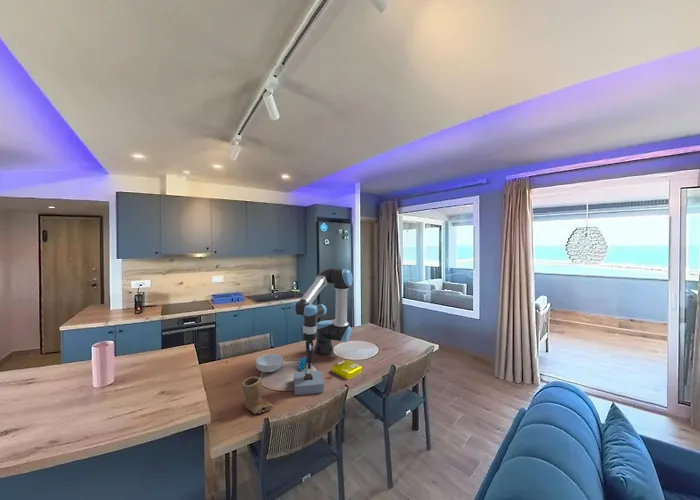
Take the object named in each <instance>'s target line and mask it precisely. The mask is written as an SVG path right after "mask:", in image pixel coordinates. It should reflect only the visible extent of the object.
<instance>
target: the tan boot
mask: <svg viewBox="0 0 700 500" xmlns="http://www.w3.org/2000/svg"><path fill="white" fill-rule="evenodd" d="M241 391H242V393H243V395H244V397H245V400H244V401H243V406H244V407H245V408H246V409H247V410H249V411H250V412H251V413H253V414H255V415H257V414H256V413H259V412H263V411H266V412H268V411H270V410H271V409H273V408H274V405H273V404H272V403H271V402H270V401H268V400H267V399H265V398H264V397H262V396H263V395H262V394H263V381H262V379H261V377H260V376H250V377H247V378H246V379H244V380H243V381H242V383H241Z"/></svg>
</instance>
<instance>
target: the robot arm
mask: <svg viewBox="0 0 700 500" xmlns="http://www.w3.org/2000/svg"><path fill="white" fill-rule="evenodd" d="M353 278H354V277H353V273H352V272H351V270H349V269H345V268H334V267H332V268H330V267H329V268H326V269H324V270H322V271H320V272H319V273H318V274H317V276H315V279H314V281H313V283H312V284H311V285H310V286H309V288H308V289H307V290H306V292H305V293H304V294H303V296H302V297H301V298H300V299H299V300H298V302H297V301H294V302H292V303H291V304H290V309H289V310H290V313H291V314H293V315H296V316H302V317H303V326H302V329H303V330H302V331H303V333H302V338H303V340H304V341H305V348H306V349H305V354H306V353H307V362H306V363H307V370H306V374H311V371H312V370H311V365H312V364H313V353H314V354H315V355H318V356H330V355H332V354H333V353H334V346H333V345H334V344H333V342H332V341H334V342H335V341H336V342H340V343H347V342H348V341H349V340H350V338H351V336H352V330H353V329H352V327H351V326H350V322H348V290H349V289H350V287H351V286H352V284H353V281H354V280H353ZM328 285H333V288H334V290H335V312H334V313H335V321H334V322H333V321H332V320H330V319H329V320H327V319H326V320H320V321H319V322H317V321H318V319H321V318H322V317H324V316H325V315H326V314H327V309H328V308H327V306H325V305H324V304H322V303H320V304H312V303H314V301H315V299H316V298H317V297H318V296H319V294H320V293H321V291H322V290H323V289H324V288H325V287H326V286H328ZM314 341H315V344H314Z"/></svg>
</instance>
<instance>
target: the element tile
mask: <svg viewBox="0 0 700 500" xmlns="http://www.w3.org/2000/svg"><path fill="white" fill-rule="evenodd" d="M331 368H332V369H331V372H332V373H333V374H335V375H337V376H339V377H341V378H343V379H345V380H350V379H353V378H355V377H357V376H358V375H360V374H362V369H363V366H362V365H360V364H359V363H356V362H354V361H353V360H352V361H351V360H350V359H343V360H340V361H339V362H337V363H335V364H333V365H332V367H331Z"/></svg>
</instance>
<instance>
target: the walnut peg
mask: <svg viewBox="0 0 700 500" xmlns="http://www.w3.org/2000/svg"><path fill="white" fill-rule="evenodd" d="M305 356H306V358H305V359H306V362H307V353H306V352H305ZM312 368H313V367H312V365H311V371H313V369H312ZM306 370H307V363H306V368H304V372H305V378H306V379H310V378H311V374H306Z"/></svg>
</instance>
